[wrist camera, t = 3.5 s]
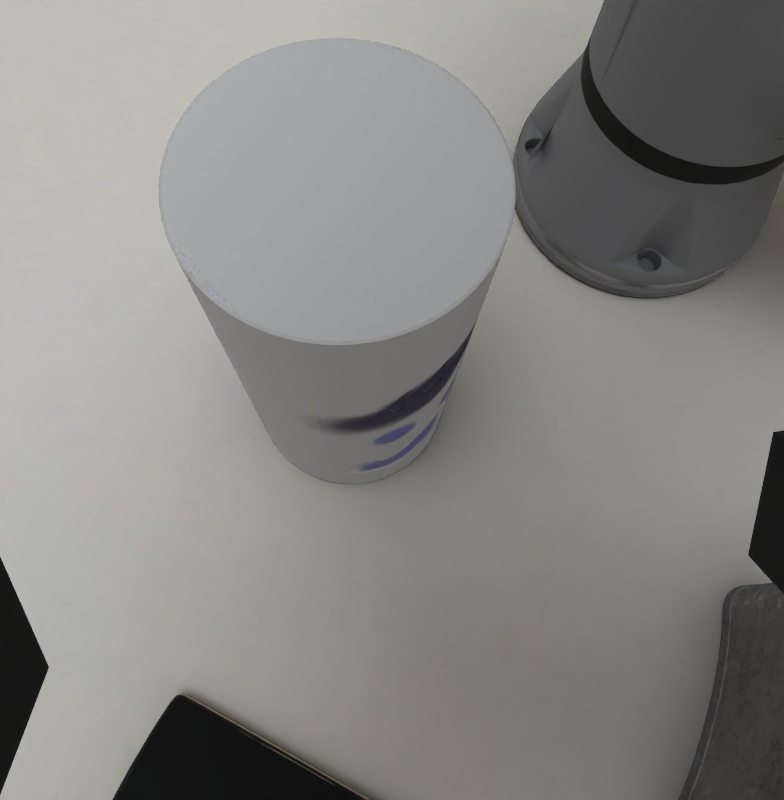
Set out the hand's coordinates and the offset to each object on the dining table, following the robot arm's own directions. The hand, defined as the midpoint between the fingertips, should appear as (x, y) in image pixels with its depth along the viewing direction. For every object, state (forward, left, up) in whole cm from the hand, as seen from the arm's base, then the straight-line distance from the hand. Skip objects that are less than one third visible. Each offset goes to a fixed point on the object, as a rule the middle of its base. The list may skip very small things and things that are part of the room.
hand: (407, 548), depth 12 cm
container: (-5, -9, -25) cm, 27 cm away
